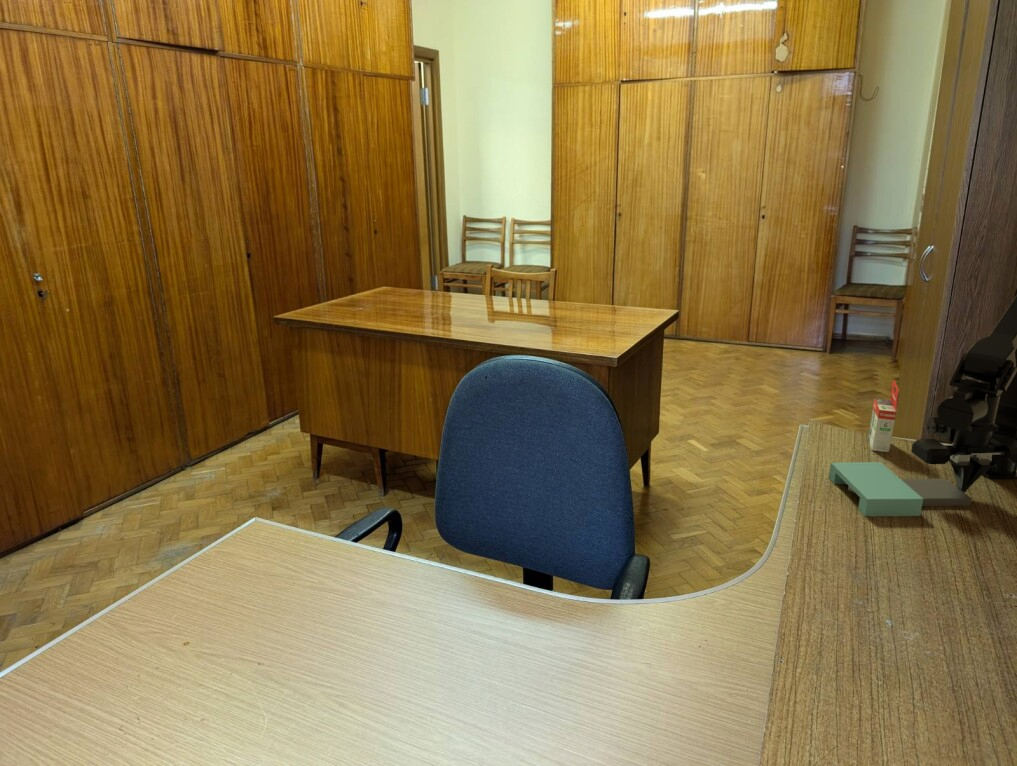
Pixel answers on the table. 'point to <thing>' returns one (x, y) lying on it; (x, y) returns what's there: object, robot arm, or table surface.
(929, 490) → the thin grey plate
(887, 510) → the overhang
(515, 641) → the table surface
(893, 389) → the ink box
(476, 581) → the table surface
